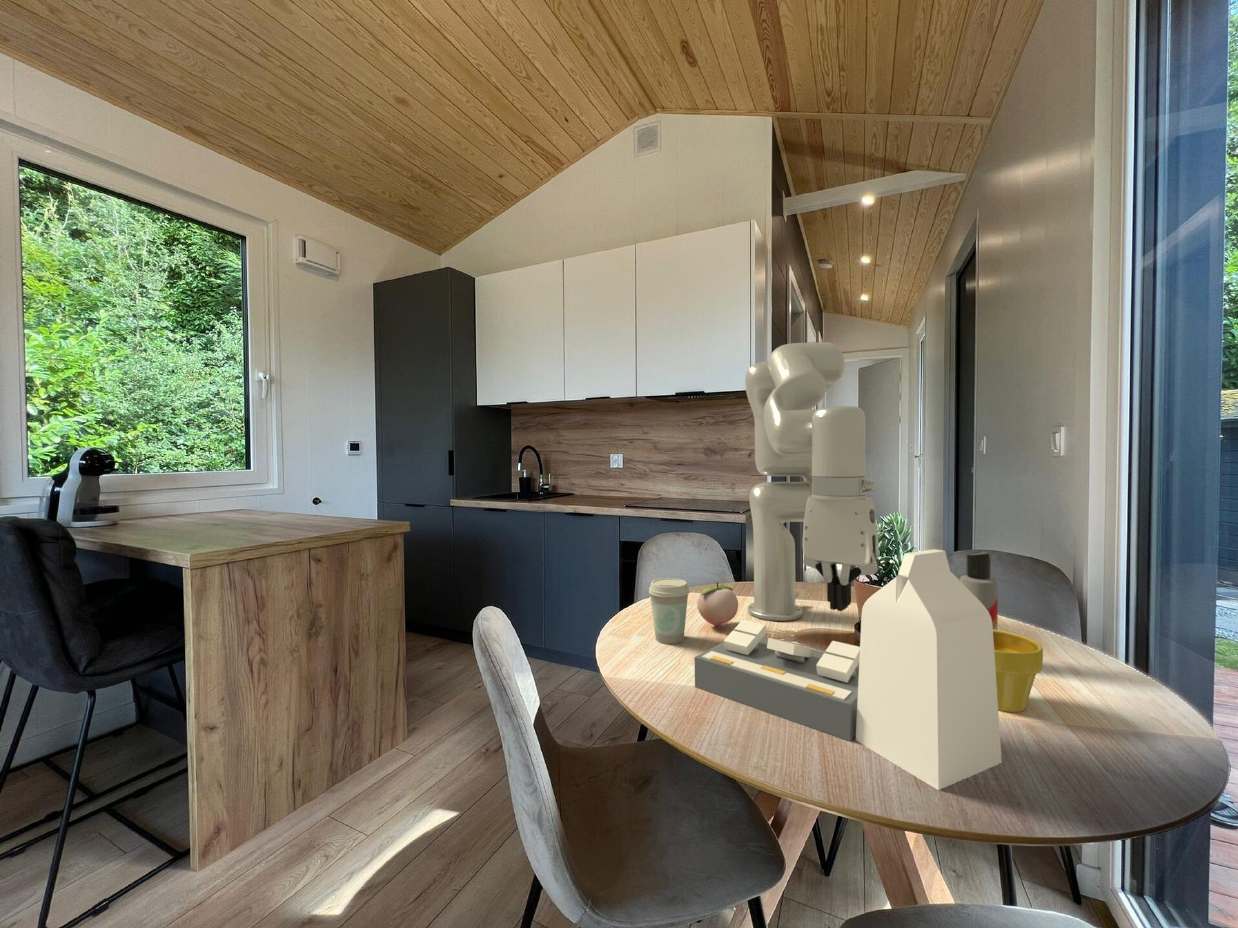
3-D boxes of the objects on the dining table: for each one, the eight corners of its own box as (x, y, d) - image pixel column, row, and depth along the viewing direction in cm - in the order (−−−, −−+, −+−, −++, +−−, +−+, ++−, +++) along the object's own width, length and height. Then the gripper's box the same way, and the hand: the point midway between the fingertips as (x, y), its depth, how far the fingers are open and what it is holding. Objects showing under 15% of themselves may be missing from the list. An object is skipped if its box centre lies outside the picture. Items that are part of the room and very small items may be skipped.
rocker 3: (833, 649, 83) (832, 639, 83) (862, 656, 80) (861, 646, 80) (817, 674, 79) (815, 664, 78) (847, 682, 76) (846, 672, 75)
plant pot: (1057, 723, 73) (1057, 655, 73) (972, 714, 76) (972, 648, 76) (1023, 691, 83) (1024, 630, 83) (950, 683, 86) (950, 625, 86)
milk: (938, 790, 60) (938, 565, 59) (855, 740, 70) (854, 549, 70) (1001, 762, 65) (1002, 555, 64) (915, 719, 75) (915, 541, 74)
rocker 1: (744, 627, 94) (742, 618, 94) (766, 632, 91) (765, 624, 91) (724, 648, 89) (723, 639, 89) (748, 655, 86) (746, 646, 86)
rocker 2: (784, 651, 88) (786, 640, 89) (810, 657, 85) (811, 646, 86) (766, 647, 84) (768, 636, 84) (793, 654, 81) (794, 643, 81)
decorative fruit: (721, 637, 110) (720, 590, 109) (691, 627, 116) (690, 583, 115) (747, 626, 116) (746, 582, 116) (717, 618, 122) (717, 575, 122)
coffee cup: (641, 639, 109) (640, 583, 108) (666, 629, 115) (665, 575, 115) (673, 650, 103) (672, 590, 103) (698, 638, 109) (697, 581, 109)
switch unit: (742, 657, 98) (742, 625, 98) (885, 698, 82) (885, 659, 81) (694, 686, 87) (694, 650, 87) (849, 741, 70) (849, 696, 70)
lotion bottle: (992, 668, 92) (992, 556, 91) (955, 659, 96) (955, 552, 96) (1001, 660, 95) (1001, 552, 95) (965, 651, 100) (965, 548, 99)
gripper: (899, 488, 76) (900, 612, 77) (800, 485, 87) (801, 594, 87) (884, 492, 71) (884, 625, 71) (780, 488, 81) (781, 604, 81)
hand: (839, 607), depth 79 cm, fingers closed
